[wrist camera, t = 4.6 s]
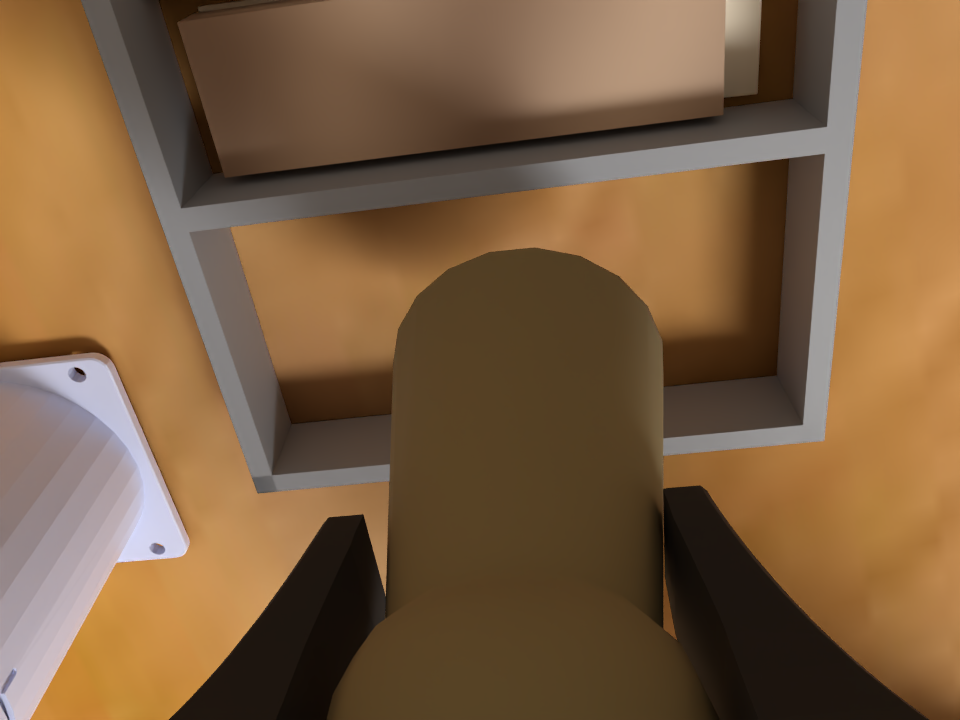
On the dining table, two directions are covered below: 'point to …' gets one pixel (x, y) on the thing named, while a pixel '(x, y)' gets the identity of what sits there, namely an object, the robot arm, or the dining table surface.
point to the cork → (525, 506)
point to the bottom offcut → (738, 42)
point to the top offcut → (444, 74)
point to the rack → (487, 171)
